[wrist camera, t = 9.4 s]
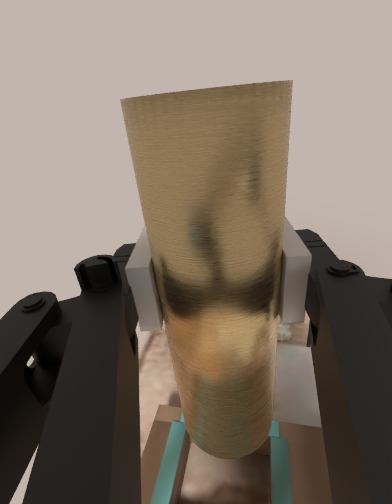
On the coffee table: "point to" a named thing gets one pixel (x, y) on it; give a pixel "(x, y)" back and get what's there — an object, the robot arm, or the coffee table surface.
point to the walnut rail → (276, 446)
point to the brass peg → (217, 247)
